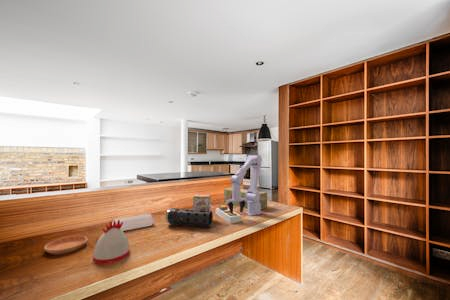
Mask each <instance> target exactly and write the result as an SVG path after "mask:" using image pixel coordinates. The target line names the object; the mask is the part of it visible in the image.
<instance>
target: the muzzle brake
mask: <svg viewBox="0 0 450 300" xmlns="http://www.w3.org/2000/svg"><path fill="white" fill-rule="evenodd" d="M164 218H165V222H166V223H168V224H170V225H176V226H179V227H182V226H191V227H195V228H205V229H207V228H209V229H210V228H212V227H211V226H212V224H213V219H214V213H213V211H212V210H210V211H201V210H193V209H182V208H180V209H179V208H169V209H167V211H166V212H165V217H164Z"/></svg>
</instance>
